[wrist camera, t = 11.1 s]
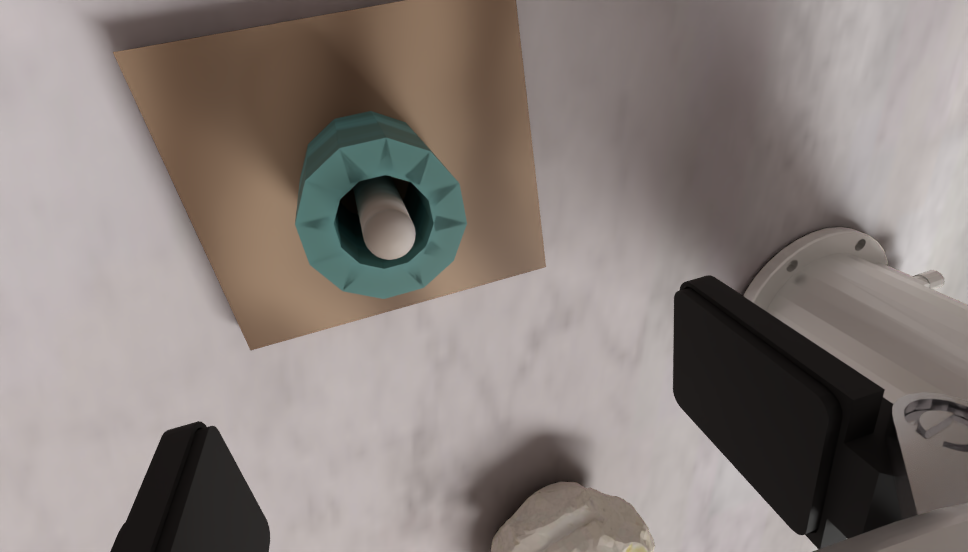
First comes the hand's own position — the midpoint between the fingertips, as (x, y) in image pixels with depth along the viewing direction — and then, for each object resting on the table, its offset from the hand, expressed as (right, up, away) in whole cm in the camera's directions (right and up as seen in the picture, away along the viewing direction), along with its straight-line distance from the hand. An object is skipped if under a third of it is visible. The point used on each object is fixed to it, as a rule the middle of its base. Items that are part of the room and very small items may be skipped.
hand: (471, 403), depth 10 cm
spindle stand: (-5, +8, +15) cm, 18 cm away
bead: (-5, +7, +14) cm, 16 cm away
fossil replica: (+5, -16, +30) cm, 34 cm away
